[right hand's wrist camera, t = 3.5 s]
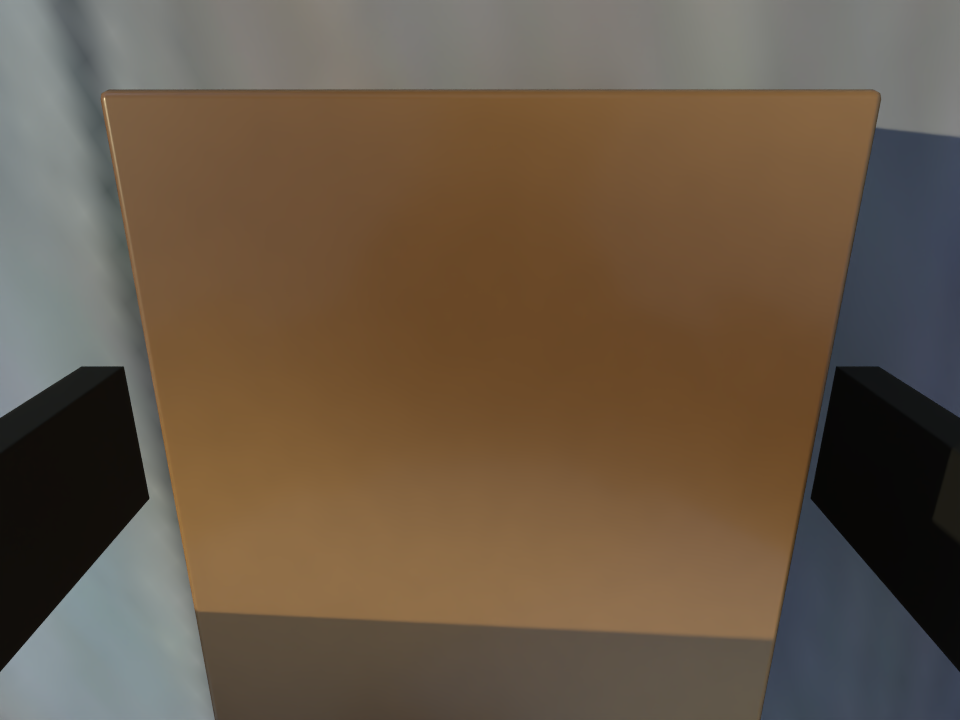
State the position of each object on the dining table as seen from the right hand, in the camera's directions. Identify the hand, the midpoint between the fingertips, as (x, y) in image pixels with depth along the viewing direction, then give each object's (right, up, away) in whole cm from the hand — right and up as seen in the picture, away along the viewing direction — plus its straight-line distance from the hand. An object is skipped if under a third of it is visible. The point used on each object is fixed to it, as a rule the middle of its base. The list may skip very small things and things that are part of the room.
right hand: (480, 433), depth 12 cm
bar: (0, -23, +11) cm, 25 cm away
